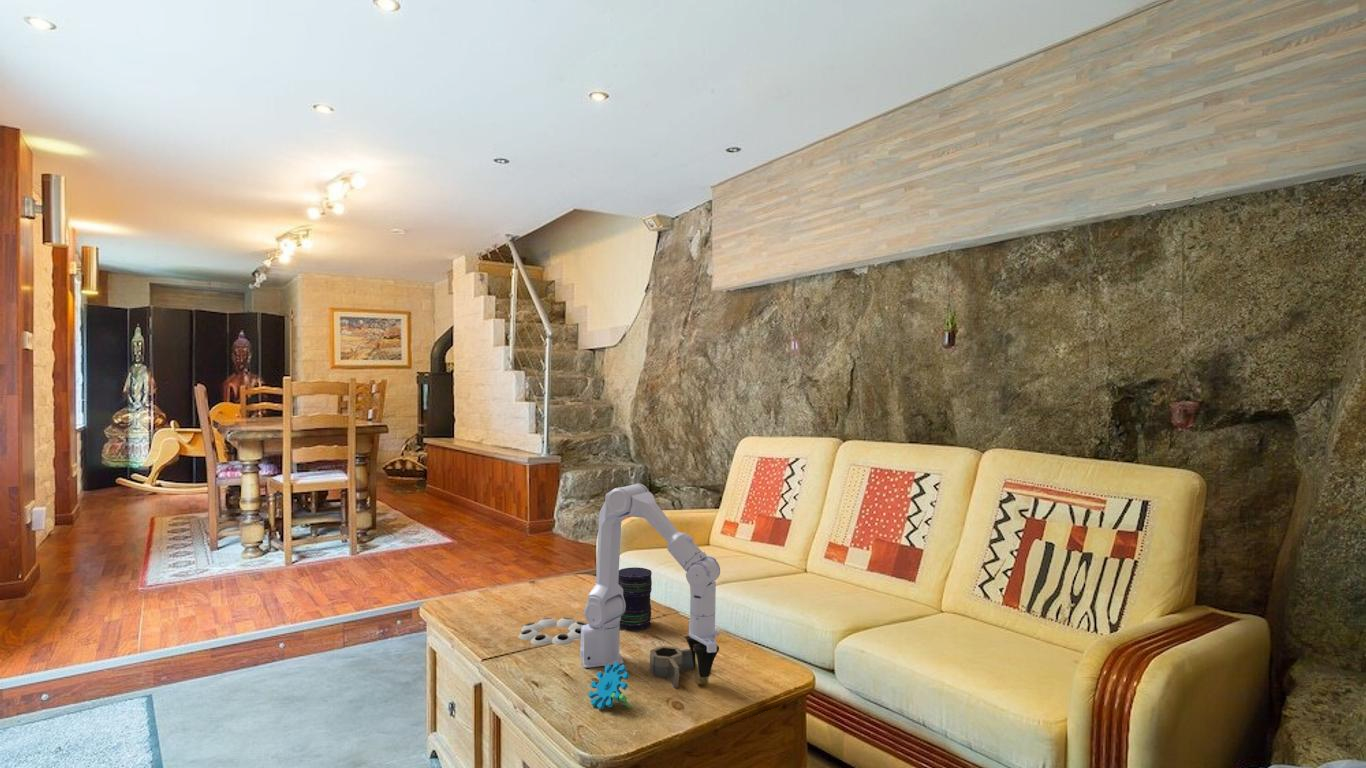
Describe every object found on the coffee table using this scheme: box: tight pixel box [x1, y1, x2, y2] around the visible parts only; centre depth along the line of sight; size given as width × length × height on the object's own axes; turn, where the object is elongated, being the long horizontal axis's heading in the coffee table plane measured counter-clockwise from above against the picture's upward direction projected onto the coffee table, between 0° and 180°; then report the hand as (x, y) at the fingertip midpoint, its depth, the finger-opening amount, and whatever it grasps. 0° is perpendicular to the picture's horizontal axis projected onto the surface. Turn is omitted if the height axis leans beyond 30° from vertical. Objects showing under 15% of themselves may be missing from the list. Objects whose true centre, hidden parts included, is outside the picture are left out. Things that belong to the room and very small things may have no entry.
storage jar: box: [618, 567, 653, 632], centre depth 192 cm, size 10×10×15 cm
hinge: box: [649, 645, 695, 689], centre depth 160 cm, size 13×13×4 cm
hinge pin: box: [693, 643, 709, 685], centre depth 155 cm, size 4×4×8 cm
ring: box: [517, 617, 588, 646], centre depth 186 cm, size 20×20×2 cm
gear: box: [588, 662, 632, 710], centre depth 146 cm, size 11×6×10 cm
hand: (701, 672), depth 155 cm, fingers closed on hinge pin, 4 cm apart
